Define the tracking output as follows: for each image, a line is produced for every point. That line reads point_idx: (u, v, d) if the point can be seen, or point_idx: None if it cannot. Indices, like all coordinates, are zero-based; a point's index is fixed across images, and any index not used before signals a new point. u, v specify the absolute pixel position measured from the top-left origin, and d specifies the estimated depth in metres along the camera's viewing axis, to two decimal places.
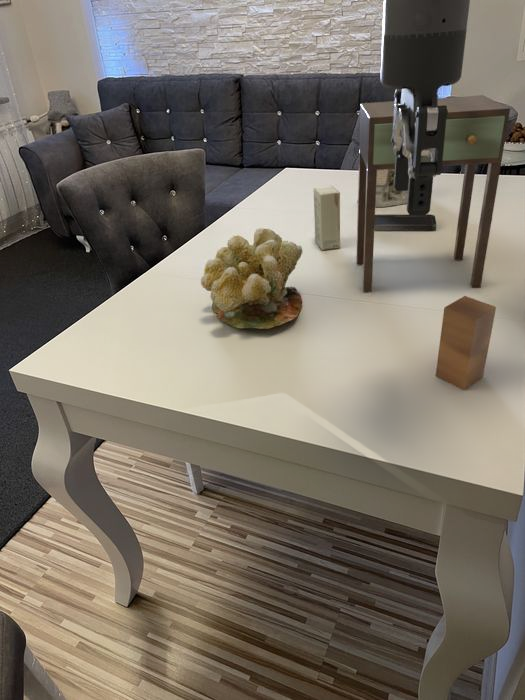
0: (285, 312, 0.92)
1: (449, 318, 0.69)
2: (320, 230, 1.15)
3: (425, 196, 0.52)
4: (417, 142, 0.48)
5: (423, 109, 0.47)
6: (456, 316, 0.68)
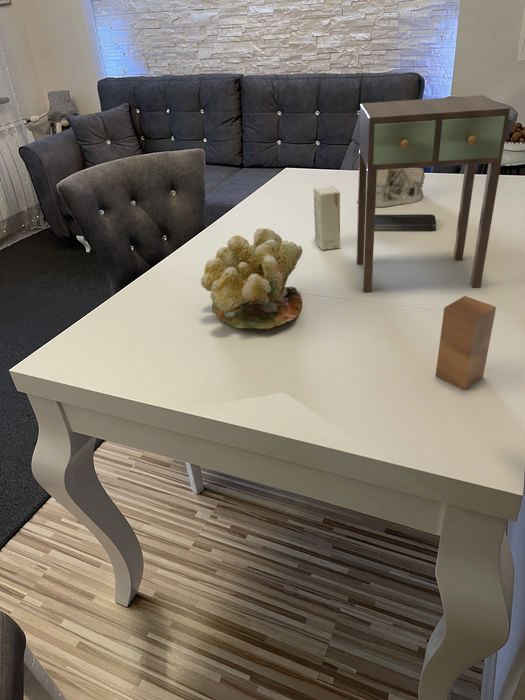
0: (285, 312, 0.92)
1: (449, 318, 0.69)
2: (320, 230, 1.15)
3: None
4: None
5: None
6: (456, 316, 0.68)
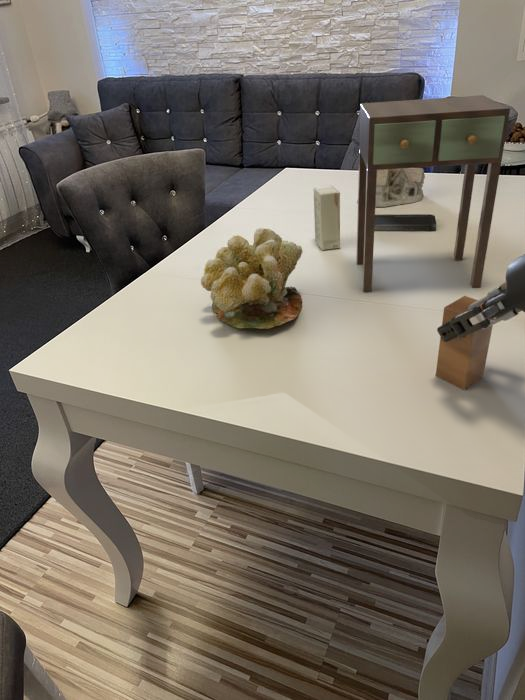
0: (285, 312, 0.92)
1: (448, 318, 0.70)
2: (320, 230, 1.15)
3: (449, 335, 0.69)
4: (461, 315, 0.63)
5: (476, 311, 0.61)
6: None
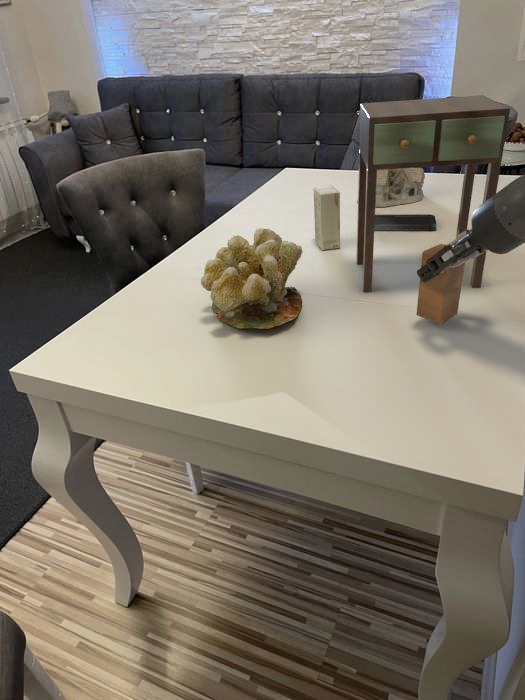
0: (285, 312, 0.92)
1: None
2: (320, 230, 1.15)
3: (426, 275, 0.81)
4: None
5: (446, 249, 0.73)
6: None
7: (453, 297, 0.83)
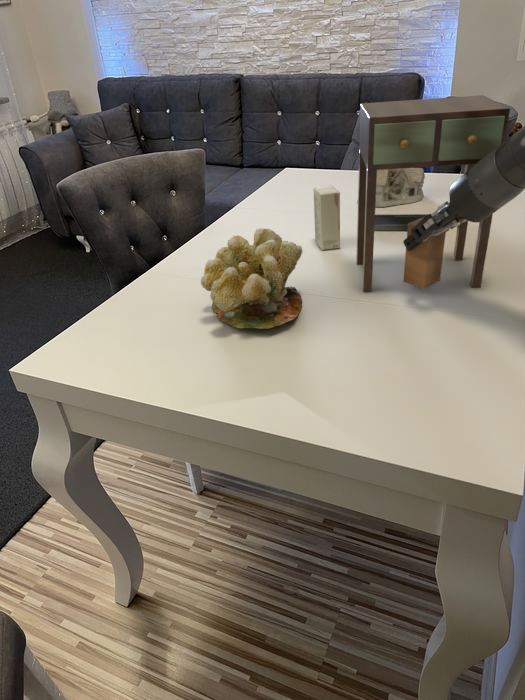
0: (285, 312, 0.92)
1: None
2: (320, 230, 1.15)
3: (411, 243, 0.91)
4: (418, 223, 0.85)
5: (427, 217, 0.83)
6: None
7: (435, 264, 0.94)
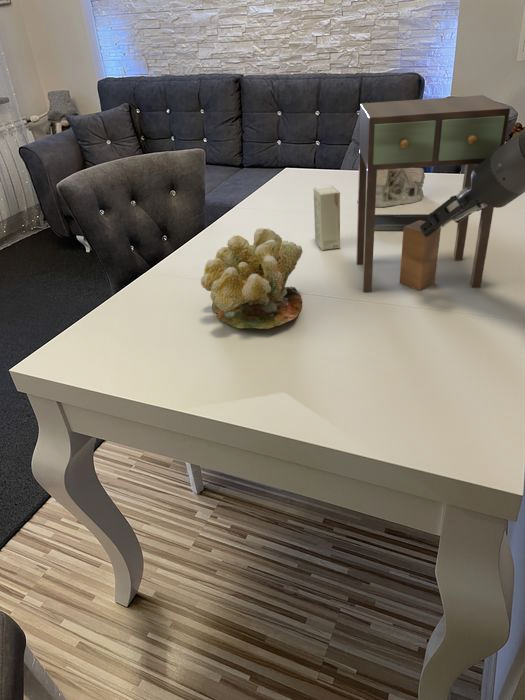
0: (285, 312, 0.92)
1: (407, 235, 0.95)
2: (320, 230, 1.15)
3: (428, 229, 0.89)
4: None
5: (453, 198, 0.81)
6: (412, 232, 0.94)
7: (430, 266, 0.97)
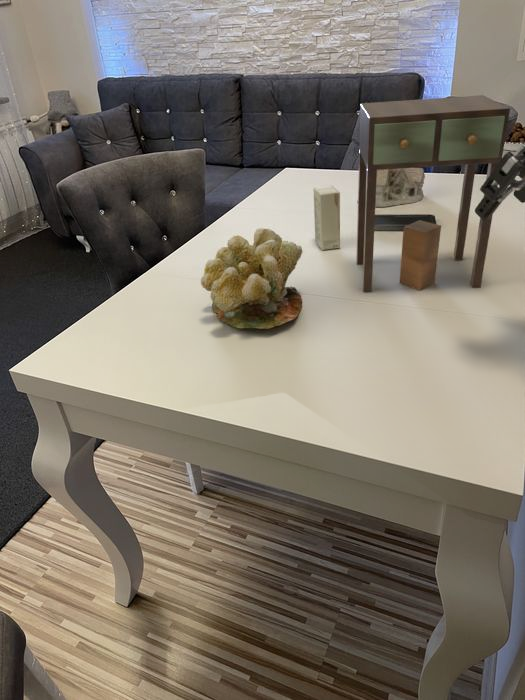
0: (285, 312, 0.92)
1: (407, 235, 0.95)
2: (320, 230, 1.15)
3: (485, 208, 0.71)
4: (492, 172, 0.66)
5: (508, 155, 0.64)
6: (412, 232, 0.94)
7: (430, 266, 0.97)
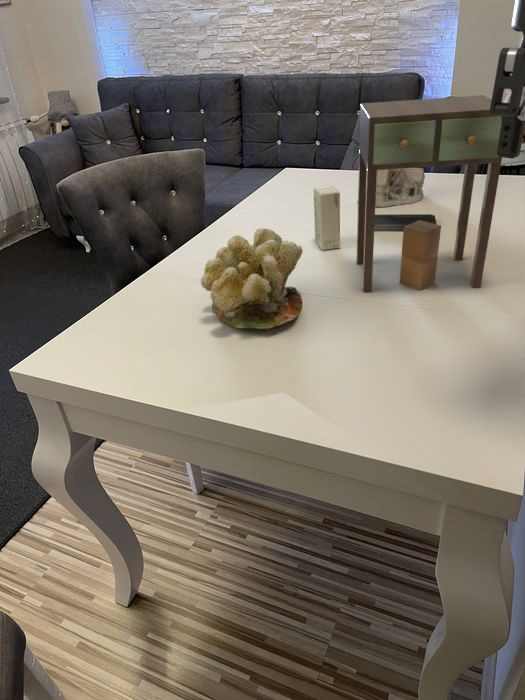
0: (285, 312, 0.92)
1: (407, 235, 0.95)
2: (320, 230, 1.15)
3: (509, 138, 0.55)
4: (495, 81, 0.52)
5: (505, 49, 0.51)
6: (412, 232, 0.94)
7: (430, 266, 0.97)
